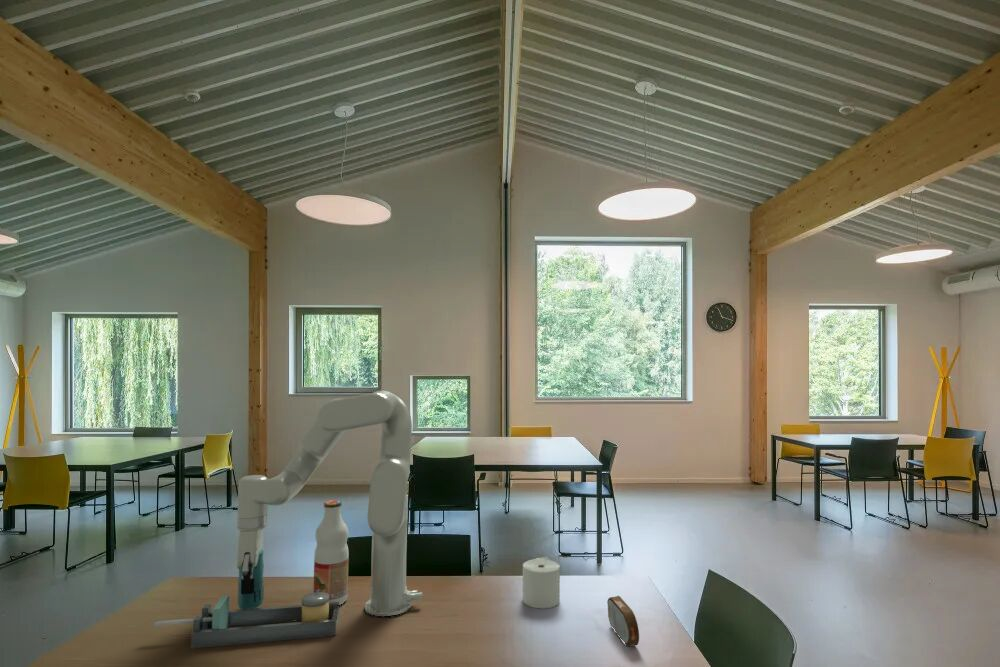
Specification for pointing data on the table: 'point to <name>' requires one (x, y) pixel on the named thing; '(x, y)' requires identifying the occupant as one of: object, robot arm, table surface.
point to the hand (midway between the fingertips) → (250, 588)
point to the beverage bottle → (257, 597)
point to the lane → (261, 626)
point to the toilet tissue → (541, 583)
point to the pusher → (217, 619)
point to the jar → (315, 606)
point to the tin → (623, 620)
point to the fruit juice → (332, 554)
